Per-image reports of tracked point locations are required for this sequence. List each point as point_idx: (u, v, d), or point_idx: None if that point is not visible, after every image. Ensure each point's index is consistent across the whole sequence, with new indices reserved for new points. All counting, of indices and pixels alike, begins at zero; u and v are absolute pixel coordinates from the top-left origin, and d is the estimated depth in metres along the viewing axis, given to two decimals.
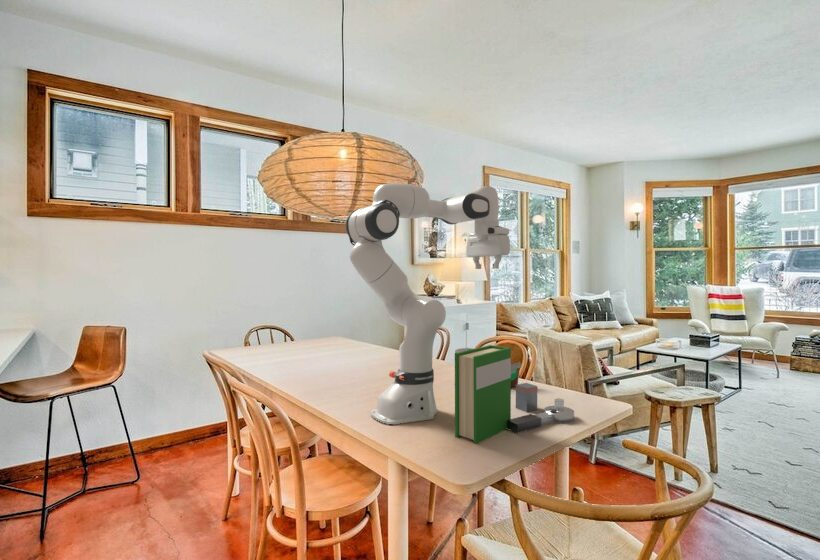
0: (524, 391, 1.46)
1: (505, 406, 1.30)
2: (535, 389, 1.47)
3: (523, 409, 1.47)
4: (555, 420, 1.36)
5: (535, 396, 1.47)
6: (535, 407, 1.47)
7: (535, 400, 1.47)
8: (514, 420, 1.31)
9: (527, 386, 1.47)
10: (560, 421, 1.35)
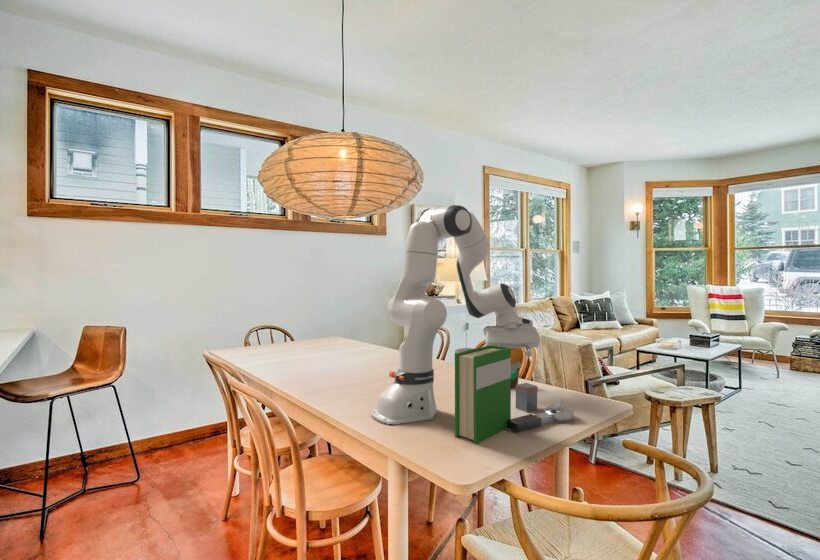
0: (524, 391, 1.46)
1: (505, 406, 1.30)
2: (535, 389, 1.47)
3: (523, 409, 1.47)
4: (555, 420, 1.36)
5: (535, 396, 1.47)
6: (535, 407, 1.47)
7: (535, 400, 1.47)
8: (514, 420, 1.31)
9: (527, 386, 1.47)
10: (560, 421, 1.35)
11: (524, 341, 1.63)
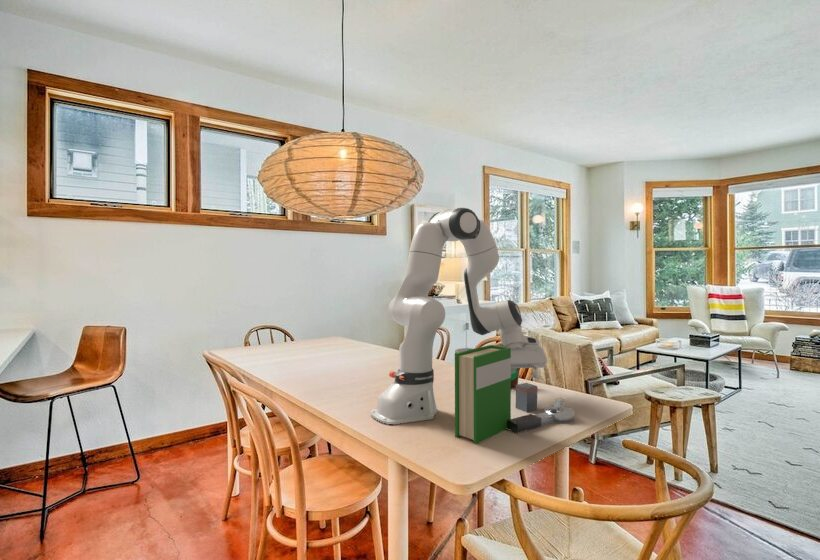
0: (524, 391, 1.46)
1: (505, 406, 1.30)
2: (535, 389, 1.47)
3: (523, 409, 1.47)
4: (555, 420, 1.36)
5: (535, 396, 1.47)
6: (535, 407, 1.47)
7: (535, 400, 1.47)
8: (514, 420, 1.31)
9: (527, 386, 1.47)
10: (560, 421, 1.35)
11: (530, 361, 1.56)
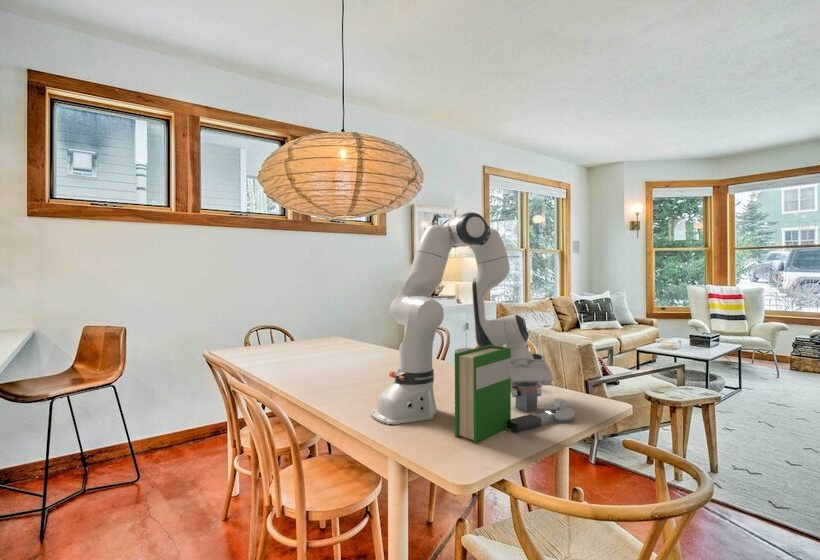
0: (524, 391, 1.46)
1: (505, 406, 1.30)
2: (535, 389, 1.47)
3: (523, 409, 1.47)
4: (555, 420, 1.36)
5: (535, 396, 1.47)
6: (535, 407, 1.47)
7: (535, 400, 1.47)
8: (514, 420, 1.31)
9: (527, 386, 1.47)
10: (560, 421, 1.35)
11: (535, 379, 1.50)
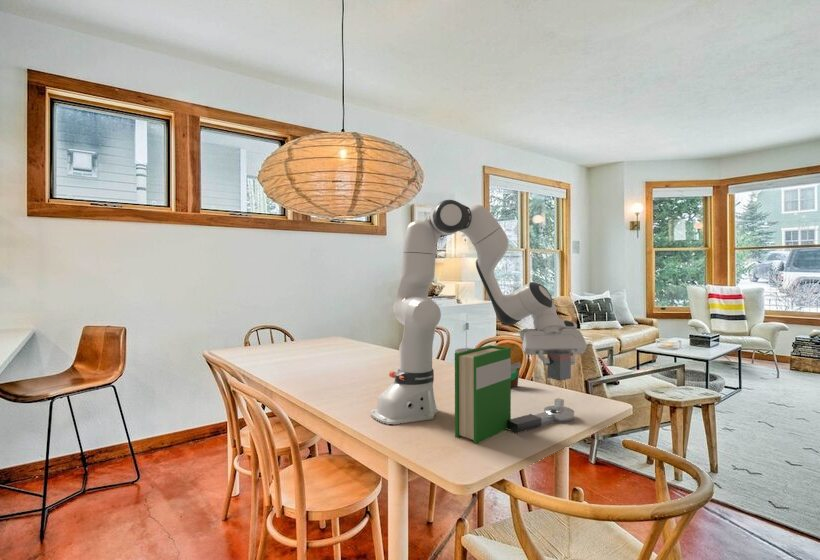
0: (557, 358, 1.37)
1: (505, 406, 1.30)
2: (568, 356, 1.38)
3: (556, 378, 1.37)
4: (555, 420, 1.36)
5: (569, 364, 1.38)
6: (569, 376, 1.38)
7: (569, 368, 1.38)
8: (514, 420, 1.31)
9: (560, 353, 1.38)
10: (560, 421, 1.35)
11: (568, 347, 1.41)
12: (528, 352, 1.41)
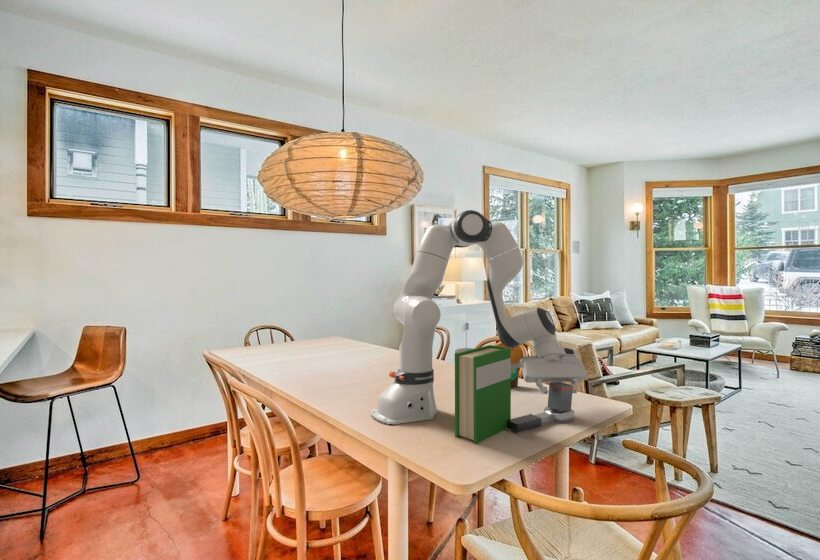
0: (558, 389, 1.37)
1: (505, 406, 1.30)
2: (570, 388, 1.38)
3: (556, 408, 1.37)
4: (555, 420, 1.36)
5: (570, 396, 1.38)
6: (569, 408, 1.38)
7: (569, 400, 1.38)
8: (514, 420, 1.31)
9: (562, 384, 1.38)
10: (560, 421, 1.35)
11: (568, 375, 1.41)
12: (528, 380, 1.42)
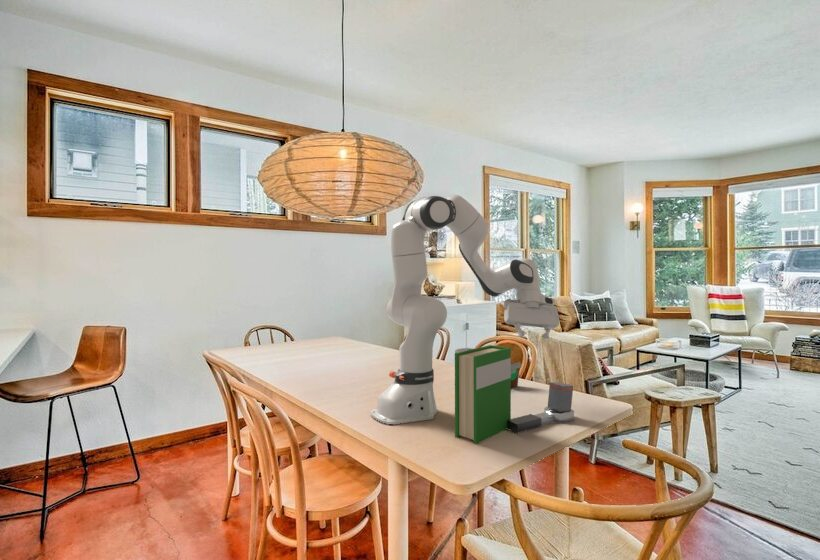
0: (559, 389, 1.37)
1: (505, 406, 1.30)
2: (571, 389, 1.38)
3: (556, 408, 1.37)
4: (555, 420, 1.36)
5: (570, 396, 1.38)
6: (569, 408, 1.38)
7: (569, 401, 1.38)
8: (514, 420, 1.31)
9: (562, 384, 1.39)
10: (560, 421, 1.35)
11: (544, 323, 1.55)
12: (509, 322, 1.54)
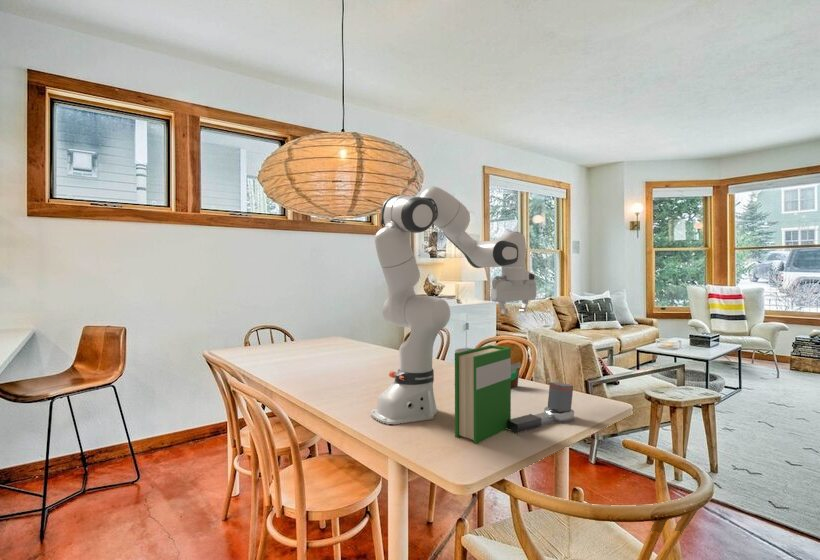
0: (559, 389, 1.37)
1: (505, 406, 1.30)
2: (571, 389, 1.38)
3: (556, 408, 1.37)
4: (555, 420, 1.36)
5: (570, 396, 1.38)
6: (569, 408, 1.38)
7: (569, 401, 1.38)
8: (514, 420, 1.31)
9: (562, 384, 1.39)
10: (560, 421, 1.35)
11: (524, 299, 1.63)
12: (495, 301, 1.58)
